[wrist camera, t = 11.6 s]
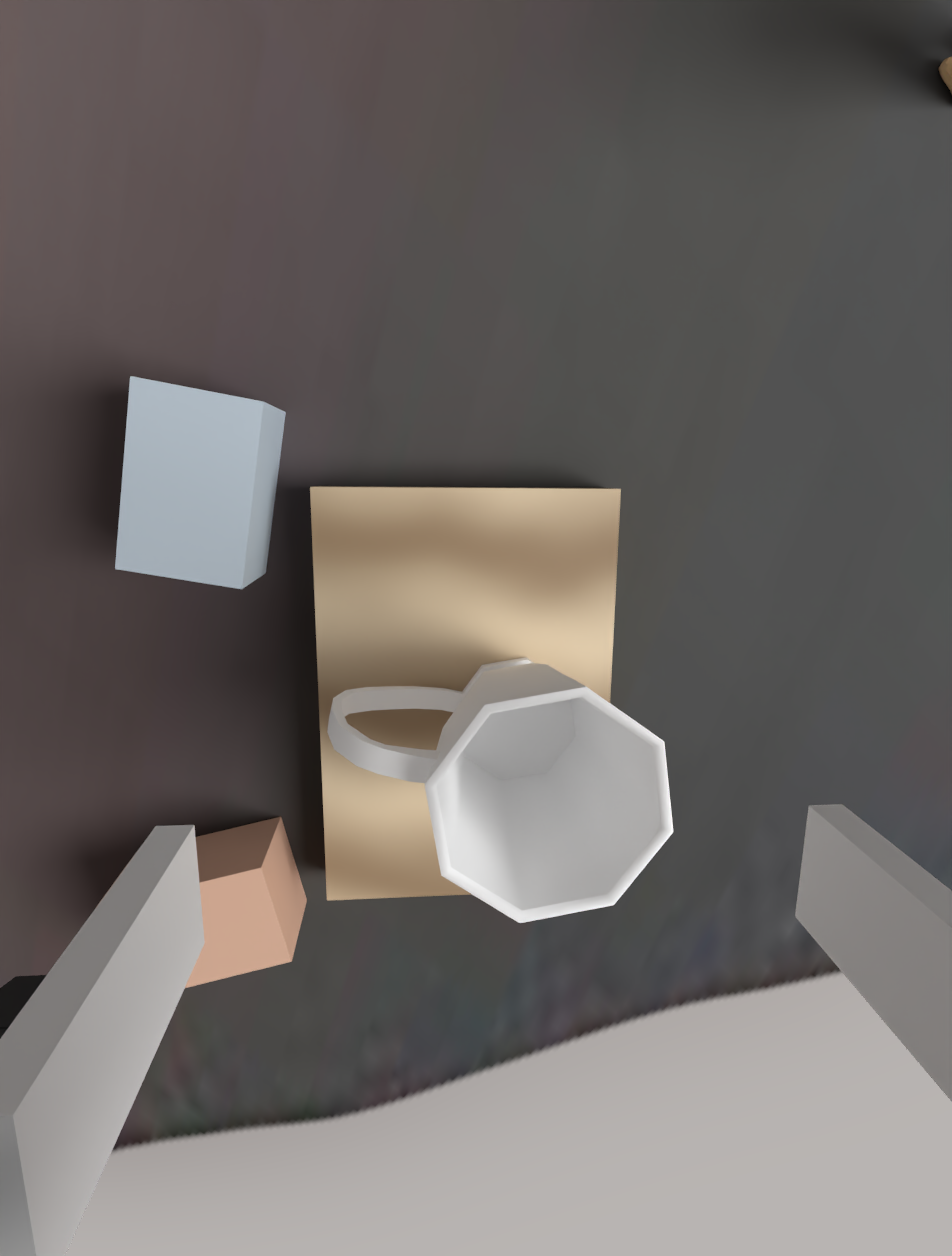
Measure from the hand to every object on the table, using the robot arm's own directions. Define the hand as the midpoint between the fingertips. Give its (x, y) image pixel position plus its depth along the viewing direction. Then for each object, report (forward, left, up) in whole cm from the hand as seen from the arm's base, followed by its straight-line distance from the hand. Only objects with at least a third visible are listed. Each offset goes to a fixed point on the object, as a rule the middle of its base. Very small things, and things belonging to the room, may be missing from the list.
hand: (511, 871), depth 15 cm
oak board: (0, 0, -14) cm, 14 cm away
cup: (0, 0, -12) cm, 12 cm away
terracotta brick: (+8, -10, -14) cm, 19 cm away
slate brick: (-8, -9, -14) cm, 18 cm away
